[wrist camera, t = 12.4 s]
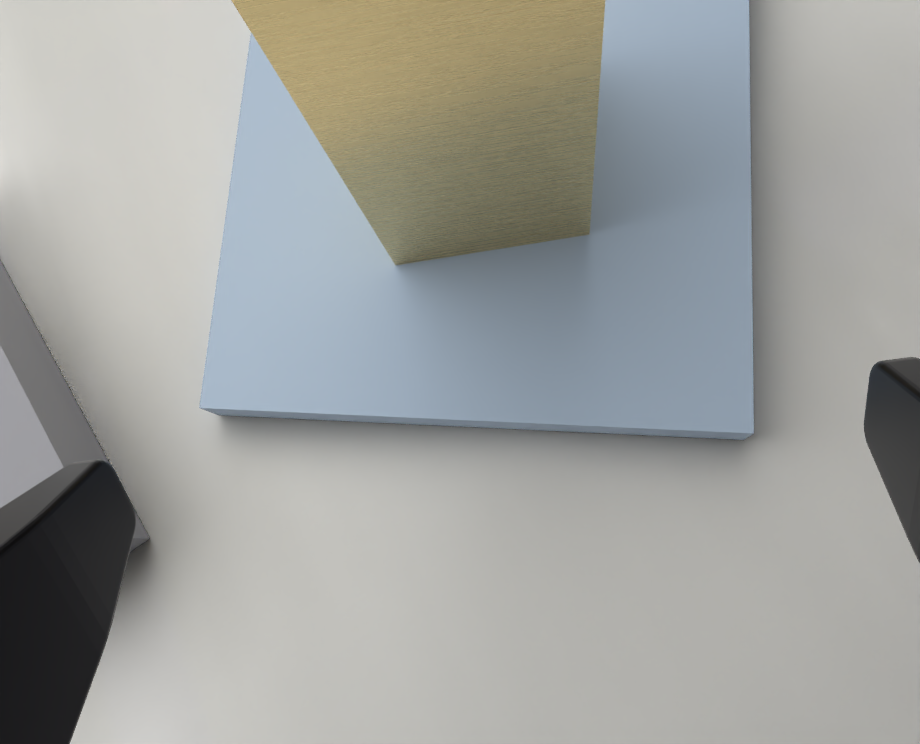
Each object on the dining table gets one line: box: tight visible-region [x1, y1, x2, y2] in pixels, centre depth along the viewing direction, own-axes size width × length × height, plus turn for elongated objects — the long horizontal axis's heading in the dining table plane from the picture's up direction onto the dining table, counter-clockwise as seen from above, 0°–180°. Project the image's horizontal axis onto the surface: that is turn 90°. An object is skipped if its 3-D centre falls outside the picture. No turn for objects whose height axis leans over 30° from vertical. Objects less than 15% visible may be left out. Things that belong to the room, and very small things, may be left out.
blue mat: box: [199, 0, 754, 440], centre depth 19 cm, size 12×12×1 cm
